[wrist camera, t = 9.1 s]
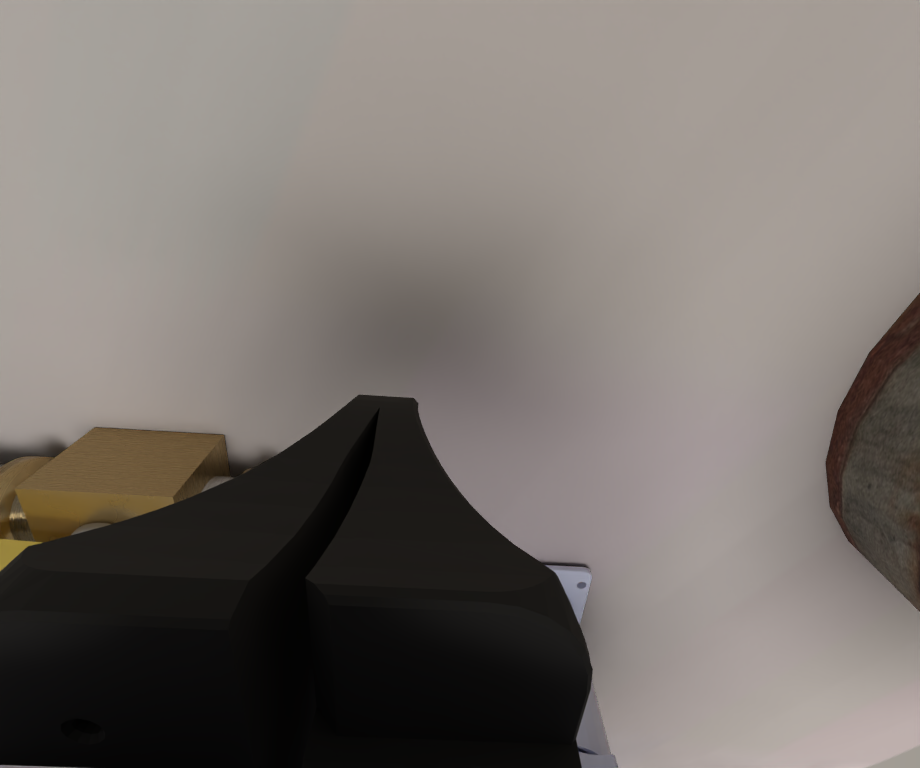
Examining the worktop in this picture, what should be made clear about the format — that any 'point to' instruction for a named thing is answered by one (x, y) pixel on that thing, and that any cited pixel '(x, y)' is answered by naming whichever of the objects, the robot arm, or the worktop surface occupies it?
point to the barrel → (882, 457)
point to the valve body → (106, 480)
